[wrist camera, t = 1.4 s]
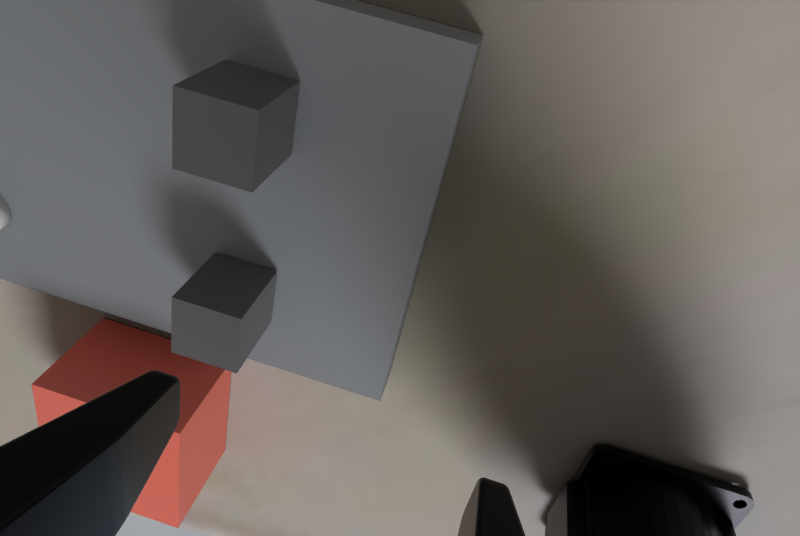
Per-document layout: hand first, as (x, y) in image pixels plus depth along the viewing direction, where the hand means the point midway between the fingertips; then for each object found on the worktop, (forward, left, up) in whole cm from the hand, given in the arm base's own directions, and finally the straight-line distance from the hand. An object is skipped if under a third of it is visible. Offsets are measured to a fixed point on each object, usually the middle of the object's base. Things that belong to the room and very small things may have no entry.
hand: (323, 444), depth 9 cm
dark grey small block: (+6, +7, -11) cm, 15 cm away
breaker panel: (+9, +3, -13) cm, 16 cm away
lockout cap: (+10, +15, -13) cm, 23 cm away
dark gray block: (+6, 0, -11) cm, 13 cm away
